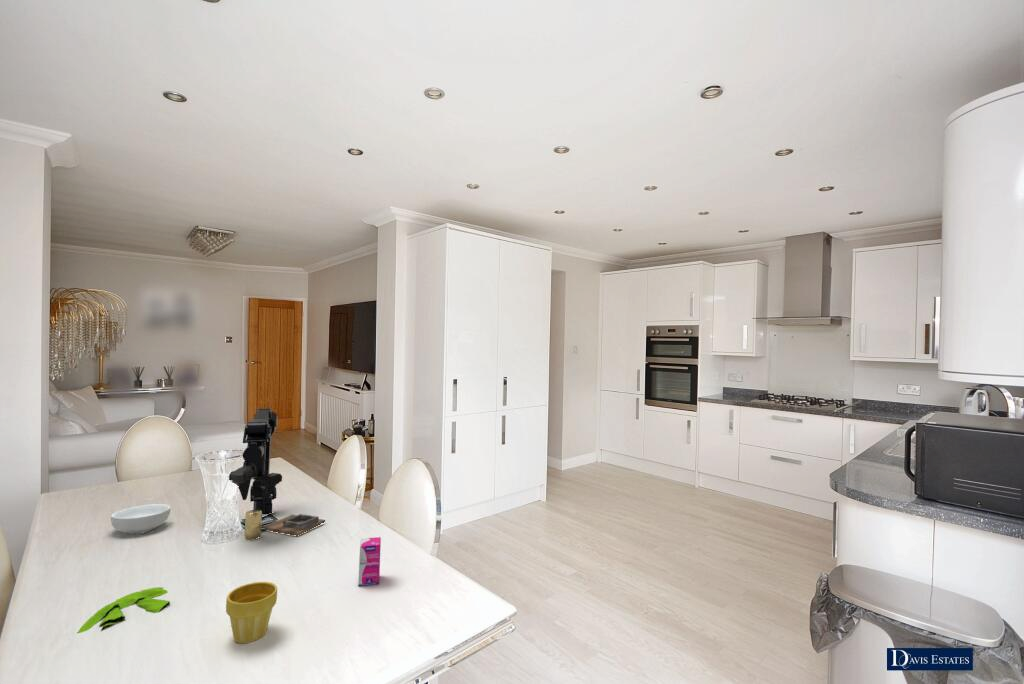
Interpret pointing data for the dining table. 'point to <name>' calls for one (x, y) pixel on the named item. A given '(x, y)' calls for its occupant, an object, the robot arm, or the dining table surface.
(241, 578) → the dining table surface
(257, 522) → the solid brass cylinder
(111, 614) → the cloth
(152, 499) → the dining table surface
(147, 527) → the cereal bowl
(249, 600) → the plant pot
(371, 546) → the supplement box
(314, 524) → the jig
